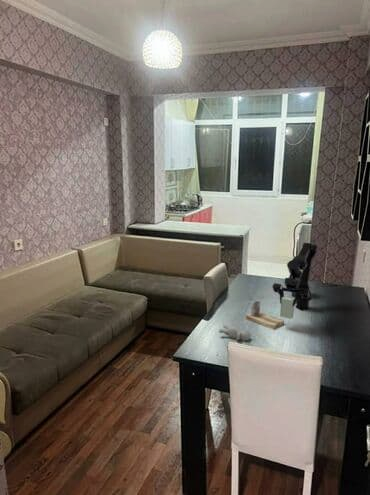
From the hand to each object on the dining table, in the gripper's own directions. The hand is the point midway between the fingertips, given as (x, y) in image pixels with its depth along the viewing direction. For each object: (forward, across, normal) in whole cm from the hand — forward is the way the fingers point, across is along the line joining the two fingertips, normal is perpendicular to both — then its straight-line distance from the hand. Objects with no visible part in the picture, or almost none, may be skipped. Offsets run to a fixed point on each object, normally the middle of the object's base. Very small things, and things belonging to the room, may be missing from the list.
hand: (286, 304), depth 186 cm
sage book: (+4, 0, +6) cm, 7 cm away
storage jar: (-29, -8, +48) cm, 57 cm away
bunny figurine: (+26, -18, -6) cm, 32 cm away
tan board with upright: (+7, -12, +12) cm, 19 cm away
